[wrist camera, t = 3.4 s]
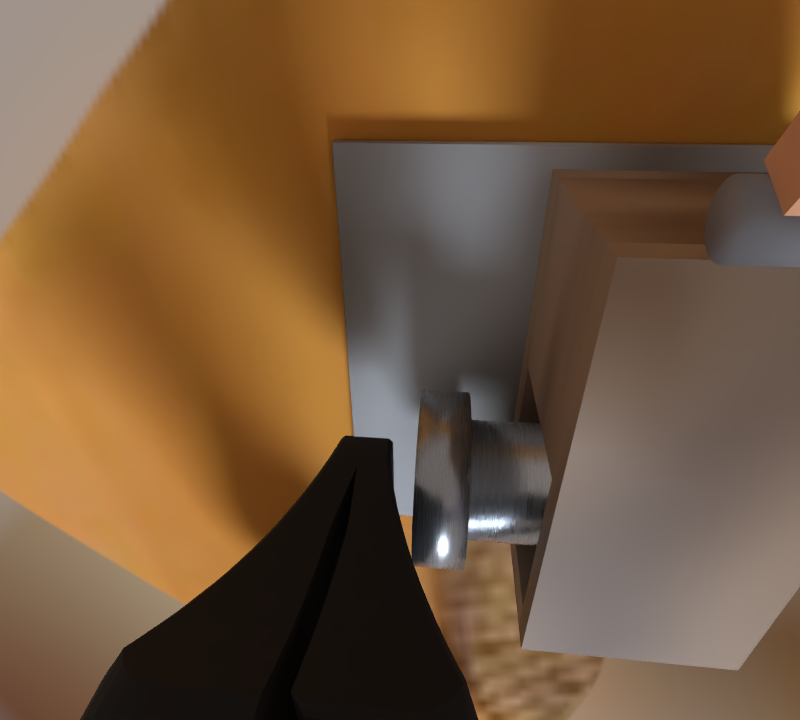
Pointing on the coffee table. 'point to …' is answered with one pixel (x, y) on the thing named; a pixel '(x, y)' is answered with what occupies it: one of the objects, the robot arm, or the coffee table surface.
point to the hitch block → (591, 374)
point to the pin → (474, 481)
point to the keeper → (759, 211)
